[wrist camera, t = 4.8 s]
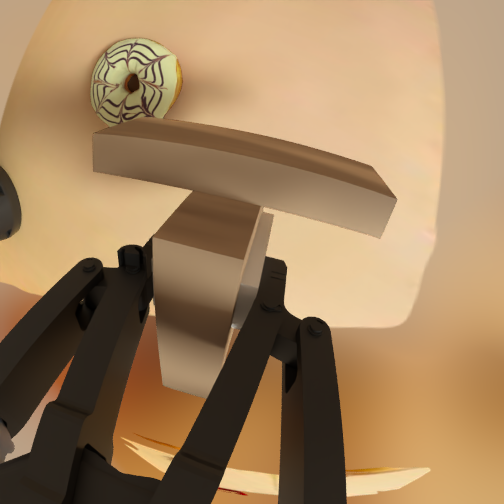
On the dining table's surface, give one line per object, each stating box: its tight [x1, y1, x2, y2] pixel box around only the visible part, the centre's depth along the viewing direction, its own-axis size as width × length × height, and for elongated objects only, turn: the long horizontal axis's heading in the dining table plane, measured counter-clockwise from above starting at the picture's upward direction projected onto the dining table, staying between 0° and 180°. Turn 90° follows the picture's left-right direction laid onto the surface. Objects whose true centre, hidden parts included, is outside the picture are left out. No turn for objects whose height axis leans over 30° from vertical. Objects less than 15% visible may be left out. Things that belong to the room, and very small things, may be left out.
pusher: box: [93, 117, 397, 399], centre depth 15 cm, size 12×14×9 cm
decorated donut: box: [90, 38, 183, 127], centre depth 24 cm, size 10×11×4 cm
